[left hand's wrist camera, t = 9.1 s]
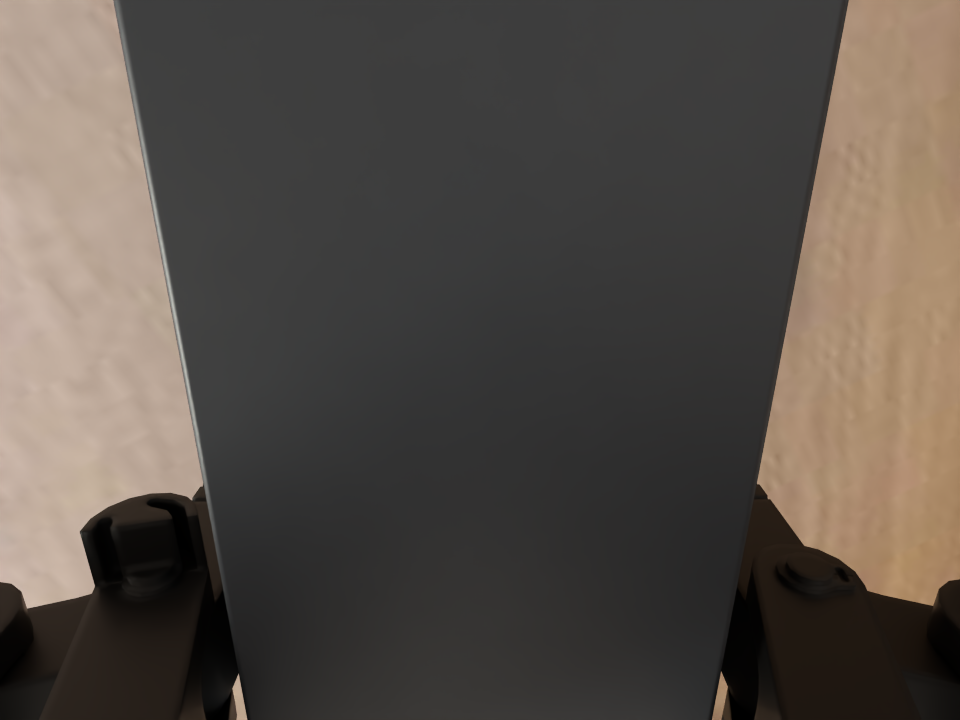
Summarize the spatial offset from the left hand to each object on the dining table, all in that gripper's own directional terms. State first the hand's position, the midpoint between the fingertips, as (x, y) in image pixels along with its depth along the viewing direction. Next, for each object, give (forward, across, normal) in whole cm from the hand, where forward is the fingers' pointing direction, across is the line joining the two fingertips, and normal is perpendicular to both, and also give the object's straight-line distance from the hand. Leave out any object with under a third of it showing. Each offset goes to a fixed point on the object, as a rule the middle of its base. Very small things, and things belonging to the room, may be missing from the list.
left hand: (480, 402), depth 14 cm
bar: (+1, 0, -8) cm, 8 cm away
